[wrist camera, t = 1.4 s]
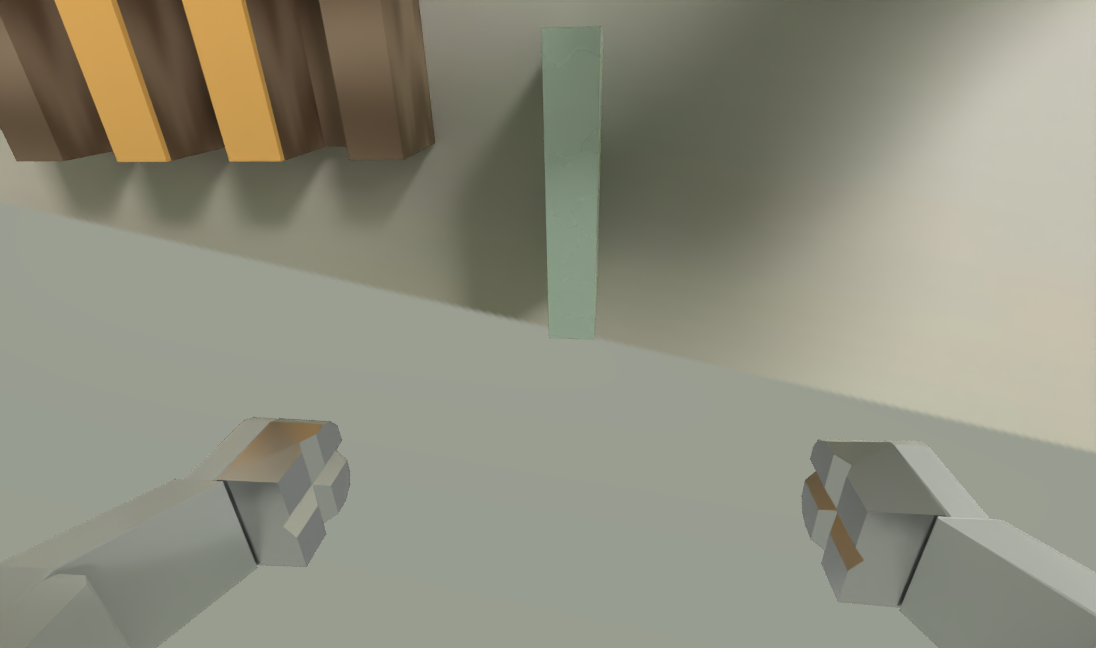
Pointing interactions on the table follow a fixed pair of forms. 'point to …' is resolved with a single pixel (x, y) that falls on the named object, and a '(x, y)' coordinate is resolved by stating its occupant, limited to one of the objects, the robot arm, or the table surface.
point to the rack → (213, 78)
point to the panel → (572, 175)
